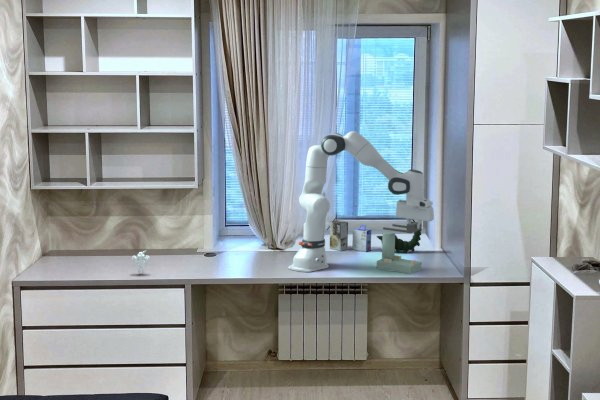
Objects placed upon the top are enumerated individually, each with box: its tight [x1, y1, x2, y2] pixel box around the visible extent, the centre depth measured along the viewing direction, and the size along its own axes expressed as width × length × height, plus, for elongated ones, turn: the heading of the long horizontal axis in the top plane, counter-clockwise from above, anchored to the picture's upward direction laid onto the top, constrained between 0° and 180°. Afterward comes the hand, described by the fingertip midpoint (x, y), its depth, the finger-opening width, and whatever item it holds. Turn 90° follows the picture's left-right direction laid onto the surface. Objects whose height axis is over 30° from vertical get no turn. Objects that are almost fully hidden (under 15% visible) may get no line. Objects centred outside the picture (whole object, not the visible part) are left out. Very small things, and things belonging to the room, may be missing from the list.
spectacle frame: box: [382, 221, 423, 234], centre depth 399 cm, size 12×16×4 cm
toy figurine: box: [376, 221, 423, 254], centre depth 439 cm, size 9×19×25 cm
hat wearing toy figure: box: [131, 249, 150, 275], centre depth 390 cm, size 9×4×12 cm, turn 92°
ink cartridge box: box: [351, 224, 372, 252], centre depth 444 cm, size 10×6×14 cm, turn 53°
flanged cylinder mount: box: [376, 231, 423, 275], centre depth 402 cm, size 12×20×18 cm, turn 54°
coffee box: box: [329, 219, 349, 252], centre depth 446 cm, size 9×6×16 cm
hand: (414, 227), depth 395 cm, fingers closed on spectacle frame, 2 cm apart
